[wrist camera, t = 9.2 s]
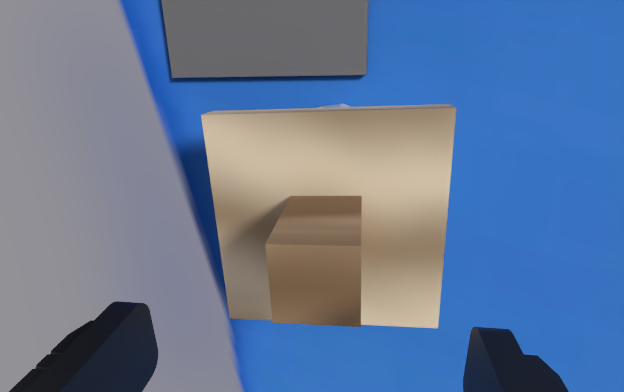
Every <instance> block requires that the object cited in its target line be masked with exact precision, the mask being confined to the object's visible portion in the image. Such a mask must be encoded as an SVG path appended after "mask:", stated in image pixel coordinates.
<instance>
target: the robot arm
mask: <svg viewBox="0 0 624 392" xmlns="http://www.w3.org/2000/svg"><path fill="white" fill-rule="evenodd" d="M157 360H158V348H157V343H156V339H155V334H154V330H153V325H152V320H151V315H150V311H149V308H148V306H147V305H146V304H144V303H131V302H113V303H112V304H110V305H109V306H108V307H107V308H106V309H105V310H104V311H103V312H102V313H101V314H100V315H99V316H98V317H97V318H96V319H95V320H94V321H90V322H88V323H86V324H85V325H83V326H82V327H80V328H78V329H76V330H75V331H73V332H72V333H70V334H69V335H67V336H66V337H65V338H64V339H63V340H62V341H61V342H60V343H59V344H58V345H57V346H56V347H55V348H54V349H53V350H52V351H51V354H50V355H47V356H46V357H44V358H43V359H42V360H41V361H40V362H39V363H38V364H37V365H36V369H32V370H31V371H30V372H29V373H28V374H27V375H26V376H25V377H24V378H23V379H22V380H21V381H20V382H18V384H16V386H14V387H13V388H12V389H11V390H10V391H9V392H142V391H143V389H144V388H145V386H146V385H147V383H148V382H149V380H150V378H151V377H152V375H153V373H154V371H155V368H156V365H157ZM463 391H464V392H568V390H567V388H566V387H565V385H564V383H563V381H562V380H561V378H560V376H559V375H558V374H557V373H556V372H555V371H553V370H552V369H551V368H550V367H549V366H548V365H547V364H546V363H545V362H544V361H543V360H542V359H540V358H539V357H538V356H535V355H524V354H523V352H522V351H521V349H520V347H519V345H518V343H517V341H516V339H515V337H514V335H513V333H512V332H511V331H510V330H508V329H497V328H482V327H473V329H472V331H471V335H470V341H469V347H468V353H467V359H466V365H465V371H464V378H463Z"/></svg>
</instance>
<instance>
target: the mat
mask: <svg viewBox="0 0 624 392" xmlns="http://www.w3.org/2000/svg"><path fill="white" fill-rule="evenodd" d="M161 1H162V8H163V15H164V23H165V30H166V37H167V44H168V51H169V58H170V66H171V73H172V78H193V77H259V76H326V75H366V68H367V32H368V0H161Z"/></svg>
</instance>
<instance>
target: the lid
mask: <svg viewBox="0 0 624 392" xmlns="http://www.w3.org/2000/svg"><path fill="white" fill-rule="evenodd" d="M201 118H202V125H203V132H204V139H205V146H206V153H207V160H208V167H209V174H210V181H211V188H212V196H213V203H214V210H215V217H216V224H217V231H218V238H219V245H220V252H221V259H222V266H223V273H224V280H225V287H226V294H227V302H228V309H229V316H230V318H234V319H255V320H273V323H292V324H312V325H333V326H353V327H361V325H380V326H401V327H422V328H438V321H439V309H440V297H441V285H442V273H443V261H444V249H445V237H446V225H447V213H448V201H449V189H450V177H451V165H452V153H453V142H454V130H455V118H456V107H454V106H452V105H450V104H438V105H404V106H370V107H336V108H301V109H267V110H233V111H211V112H208V113H205V114H203V115H201Z"/></svg>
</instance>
